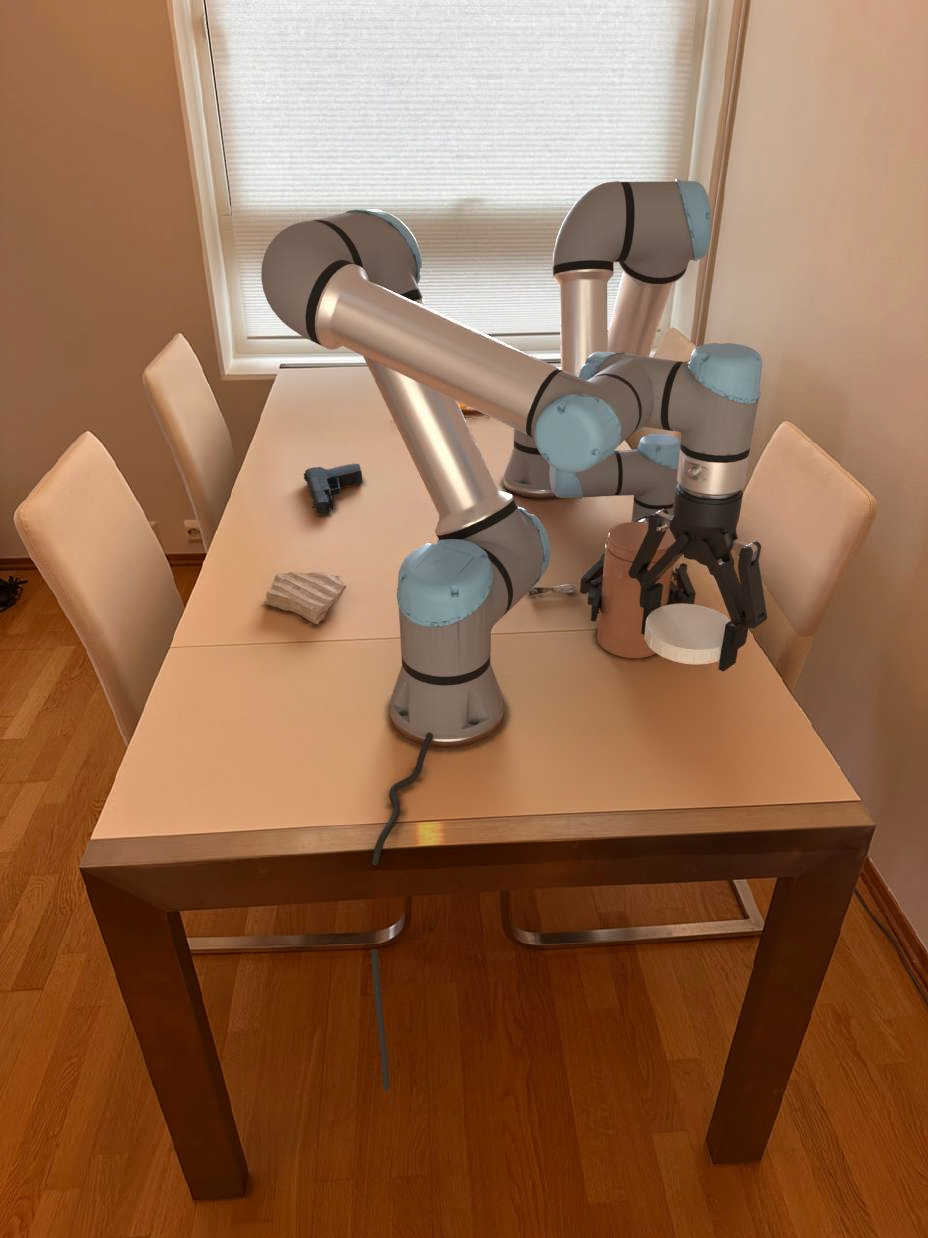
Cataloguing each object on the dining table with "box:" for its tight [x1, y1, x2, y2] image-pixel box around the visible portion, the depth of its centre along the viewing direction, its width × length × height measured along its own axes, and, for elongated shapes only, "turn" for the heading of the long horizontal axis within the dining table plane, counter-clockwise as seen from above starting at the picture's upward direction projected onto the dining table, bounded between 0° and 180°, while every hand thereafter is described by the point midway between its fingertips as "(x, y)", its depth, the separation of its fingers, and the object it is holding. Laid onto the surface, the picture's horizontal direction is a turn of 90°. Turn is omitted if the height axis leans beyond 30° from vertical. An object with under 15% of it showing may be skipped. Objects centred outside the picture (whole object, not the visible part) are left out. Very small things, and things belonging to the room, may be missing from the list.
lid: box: [645, 603, 731, 665], centre depth 112 cm, size 11×11×2 cm
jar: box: [596, 521, 675, 659], centre depth 131 cm, size 10×10×18 cm
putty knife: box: [528, 583, 577, 596], centre depth 147 cm, size 1×8×2 cm, turn 103°
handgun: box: [303, 463, 363, 515], centre depth 181 cm, size 3×18×12 cm
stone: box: [265, 571, 347, 625], centre depth 145 cm, size 13×12×2 cm
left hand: (687, 647), depth 113 cm, fingers closed on lid, 11 cm apart
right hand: (630, 618), depth 129 cm, fingers closed on jar, 10 cm apart
